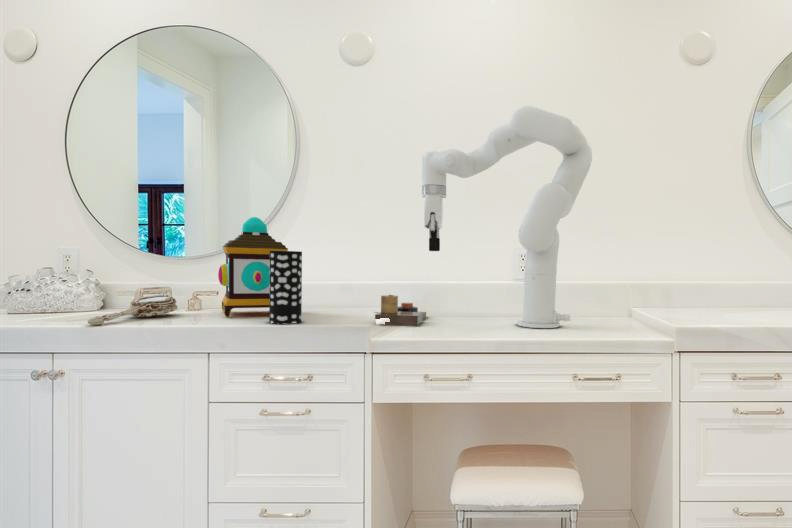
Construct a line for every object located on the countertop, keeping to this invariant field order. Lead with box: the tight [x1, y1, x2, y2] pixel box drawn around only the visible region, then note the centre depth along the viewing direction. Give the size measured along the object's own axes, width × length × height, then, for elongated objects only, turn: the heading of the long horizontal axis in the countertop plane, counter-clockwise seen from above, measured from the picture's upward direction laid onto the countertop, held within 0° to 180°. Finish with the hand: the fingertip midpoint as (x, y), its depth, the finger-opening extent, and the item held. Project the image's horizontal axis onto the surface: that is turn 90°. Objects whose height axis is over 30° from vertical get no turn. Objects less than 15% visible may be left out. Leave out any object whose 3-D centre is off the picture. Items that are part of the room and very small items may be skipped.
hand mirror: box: [87, 294, 179, 326], centre depth 150 cm, size 11×6×30 cm
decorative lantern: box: [217, 216, 289, 318], centre depth 170 cm, size 20×20×30 cm
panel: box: [373, 311, 424, 327], centre depth 160 cm, size 14×10×3 cm
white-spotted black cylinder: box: [268, 250, 303, 325], centre depth 154 cm, size 8×8×20 cm
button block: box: [398, 305, 427, 321], centre depth 173 cm, size 11×9×4 cm
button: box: [400, 302, 414, 308], centre depth 173 cm, size 4×4×2 cm
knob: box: [380, 294, 399, 314], centre depth 160 cm, size 5×5×5 cm
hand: (434, 250), depth 173 cm, fingers closed
